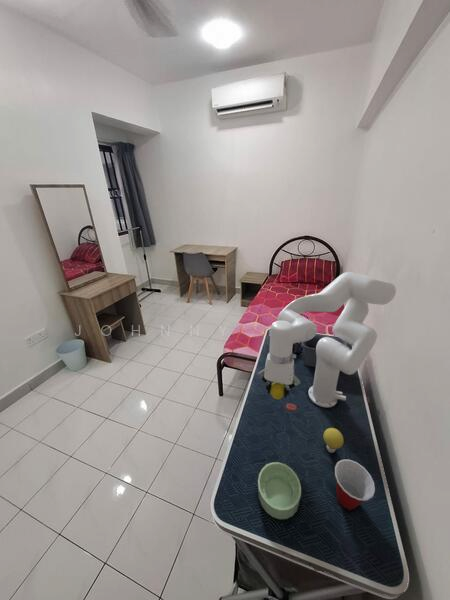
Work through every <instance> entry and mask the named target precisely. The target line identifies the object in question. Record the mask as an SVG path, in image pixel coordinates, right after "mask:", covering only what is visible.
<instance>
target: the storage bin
mask: <svg viewBox="0 0 450 600" xmlns="http://www.w3.org/2000/svg"><path fill="white" fill-rule="evenodd" d="M324 337H329V338H332V339H335V340H337V341H338V342H340V343H342V344H344V345H345V346H347V347H348V343H347V342H345V341H343V340H342V339H340V338H338V337H336V336H328V335H324V334H323V335H322V334H317V333H316V335H315V336H314V337H313V338H312V339H311V340H308V341H305V342H301V345H302V346H301V347H302V348H303V349H304V350H303V351H304V365H305V366H308V367H313V368H316V362H317V356H316V346H317V343H318V341H319V340H320V339H322V338H324Z"/></svg>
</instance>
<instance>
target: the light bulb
mask: <svg viewBox="0 0 450 600" xmlns="http://www.w3.org/2000/svg"><path fill="white" fill-rule="evenodd" d="M322 436H323V438H322V439H323V440H324V443H325V444H326V450H327V451H328V452H329V453H331V454H333V453H335V452H336V450H338V449H340V448H342V447H343V445H344V440H345V439H344V437H343V434H342V433H341V431H340V430H339V429H337V428H334V427H329V428H326V429H325V430H324V431H323V435H322Z"/></svg>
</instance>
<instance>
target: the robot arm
mask: <svg viewBox="0 0 450 600" xmlns="http://www.w3.org/2000/svg"><path fill="white" fill-rule="evenodd" d="M396 289H397V288H396V286H395V285H394V283H392V282H389V281H386V280H384V279H379V278H376V277H373V276H369V275H367V274H361V273H356V272H352V271H345V272H343V273H341V274H339V276H337V277H336V278H334V280H332V281H331V282H330V283H329V284H328V285H327V286H325V287H324V288H323V289H322V290H321V291H320V292H318V293H312V294H308V295H305V296H301V297H299V298H295V299H294V300H293V301H291V302H290V303H289V304H287V305H286V306H285V307H284V308H282V310H281V311H280V312H279V313H278V315H277V317H276V321H274V322H272V324H271V325H270V332H269V334H270V336H269V350H268V351H269V352H268V353H267V355H266V359H265V365H264V368H263V369H261V370H260V371H258V373H257V376H258V377H259V378H260V379H261V380H262V382H263V383H265V386H266V388H265V390H266V391H267V394H268V395H269V394H270V395H271V393H270V387H271V385H272V383H273V382H277V383H282V384H283V385H284V387H285V395H284V397H283V398H284V399H287V396H290V390H291V389H294V388H295V387H297V386H299V385H301V380H300V379H299V378H298V377H297V376H296V374H295V360H294V359H297V354H295V353H294V352H293V346H294V344H297V343H298V344H299V343H302V342H305V341H308V340H311V339H312V338H313V337H314V336H315V335H316V334H317V333H318V327H317V325H316V323H314V322H313V321H312V320H310V319H309V318H307V317H305V316H303V315H301V314H304V313H308V312H319V313H321V312H322V313H334V312H337V311H338V310H340V308H341V307H342V306H344V304H345V307H344V308H343V310H342V311H341V313H340V315H339V316H338V317H337V319H336V321H335V322H334V324H333V326H332V328H331V329H332V330H331V331H332V333H333V335H334V337H336V338H340V339H342V340H343V341H345V342H347V344H349V345H351V346H352V348H351V347H349V346H348V345H347V346H345V345H344V344H342V343H340V342H338V341H337V340H335V339H332V338H329V337H330V336H329V337H324V338H322V339H320V340H319V341H318V343H317V346H316V356H317V362H316V367H315V371H314V376H313V383H312V385H311V386H310V387H309V389H308V393H307V394H308V397H309V400H310V401H311V402H312V403H313V404H315V405H317V406H318V407H321V408H333V407H335V406H336V404H337V403H338V400H341V401H344V402H346V401H347V396H346V395H343V391H338V390H337V385H338V381H339V376H340V372H341V373H344V374H345V375H349V376H351V375H354V374H356V373H357V371H359V369H360V367H361V366H362V364H363V363H364V361H365V360H366V358H367V356H368V355H369V354H370V353H371V351H372V349H373V347H374V346H375V344H376V342H377V337H378V335H377V331H376V330H375V329H374V328H372V327H371V326H369V325H368V324H365V323H364V321H365V319H367V318H366V317H367V316H368V314H369V304H372V305H381V306H384V305H387V304H389V303H390V302H391V301H393V300H394V298H395V296H396V292H397V290H396Z"/></svg>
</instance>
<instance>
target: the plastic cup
mask: <svg viewBox="0 0 450 600" xmlns="http://www.w3.org/2000/svg"><path fill="white" fill-rule="evenodd" d="M334 477H335V482H336V483H335V485H336V486H335V487H336V489H335V490H336V499H337V500H338V503H339V504H340V505H341V507H343V508H345V509H347V510H354V509H357V507H359V506H360V505H361V504H362V503H363V502H364V501H369V500H370V499H372V498H373V497H374V494H375V491H376V486H375V482H374V480H373V477H372V475H371V474H370V472H368V470H367V469H366V468H365V466H363V465H361V464H360V463H358V462H357V461H355V460H351V459H341V460H338V461H337V462H336V464H335V466H334Z"/></svg>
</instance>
